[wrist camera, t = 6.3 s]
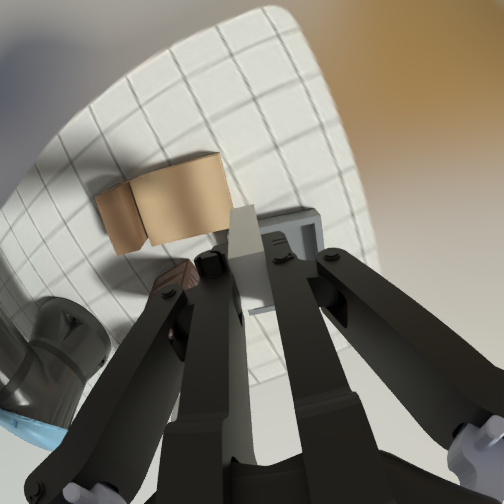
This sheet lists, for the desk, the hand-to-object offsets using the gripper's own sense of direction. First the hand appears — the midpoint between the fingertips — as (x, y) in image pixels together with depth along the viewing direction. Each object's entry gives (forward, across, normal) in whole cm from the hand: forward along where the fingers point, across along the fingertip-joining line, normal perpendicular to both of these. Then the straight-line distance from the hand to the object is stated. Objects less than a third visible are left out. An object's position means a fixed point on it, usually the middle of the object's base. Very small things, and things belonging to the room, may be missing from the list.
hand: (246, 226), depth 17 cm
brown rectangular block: (+14, -14, 0) cm, 20 cm away
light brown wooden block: (+15, -7, 0) cm, 16 cm away
